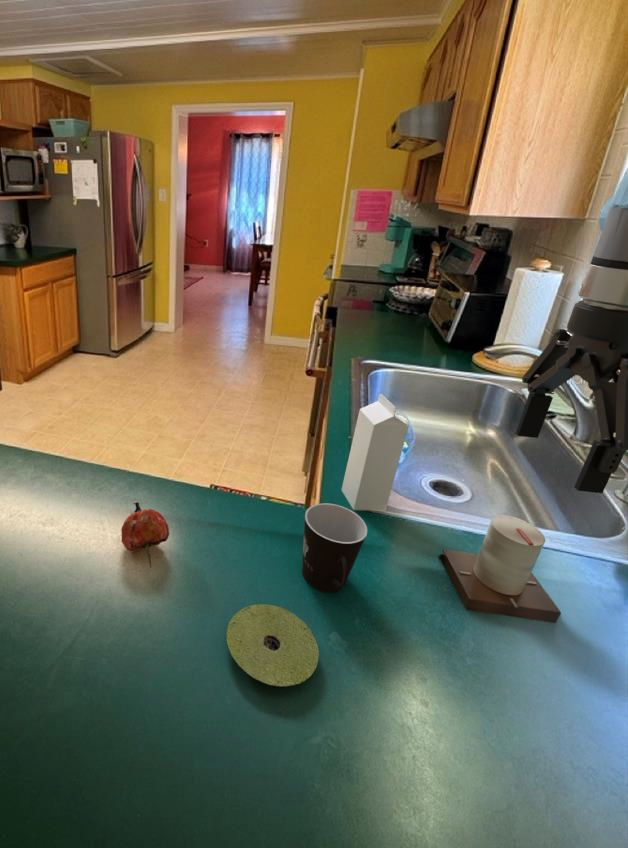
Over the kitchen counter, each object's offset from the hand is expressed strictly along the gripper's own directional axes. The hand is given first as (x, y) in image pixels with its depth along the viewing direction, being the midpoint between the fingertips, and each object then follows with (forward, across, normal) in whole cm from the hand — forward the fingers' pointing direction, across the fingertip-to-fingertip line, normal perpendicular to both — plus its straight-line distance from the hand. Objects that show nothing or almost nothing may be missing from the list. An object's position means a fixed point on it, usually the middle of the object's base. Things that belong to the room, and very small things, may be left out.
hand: (554, 460), depth 63 cm
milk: (+22, +15, +18) cm, 32 cm away
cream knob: (+20, -1, +2) cm, 20 cm away
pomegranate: (+22, -4, +55) cm, 59 cm away
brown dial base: (+22, -1, +2) cm, 22 cm away
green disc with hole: (+22, -18, +36) cm, 46 cm away
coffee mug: (+22, -5, +28) cm, 36 cm away
